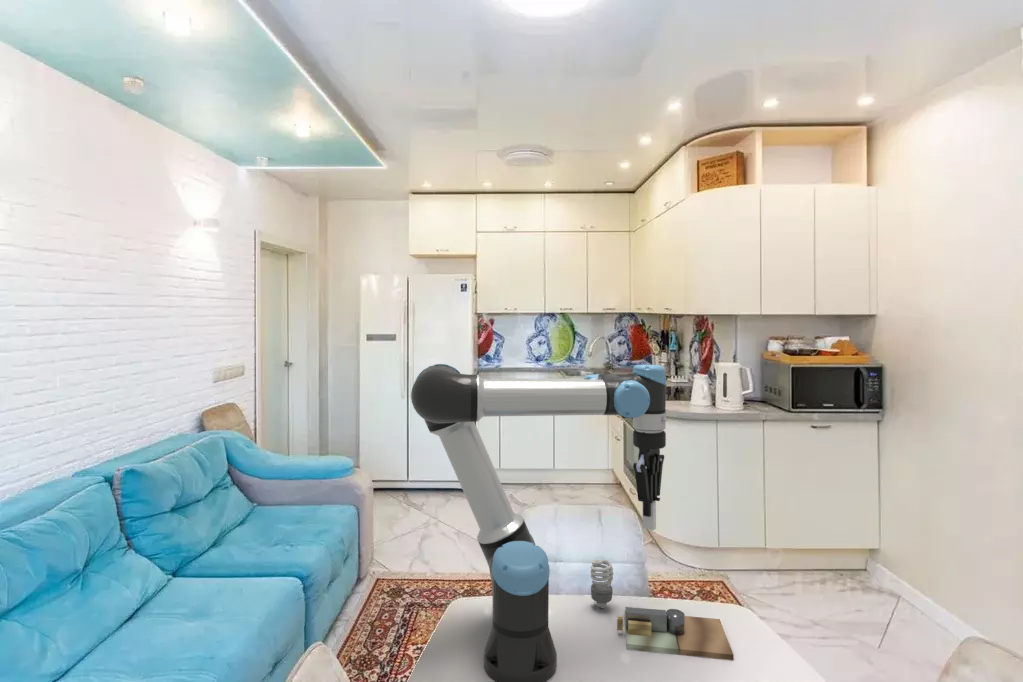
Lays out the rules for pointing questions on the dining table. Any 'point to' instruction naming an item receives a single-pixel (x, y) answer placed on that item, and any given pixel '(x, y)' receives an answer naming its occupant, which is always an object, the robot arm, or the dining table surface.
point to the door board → (680, 638)
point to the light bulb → (601, 590)
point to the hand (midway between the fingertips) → (649, 528)
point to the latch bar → (658, 619)
